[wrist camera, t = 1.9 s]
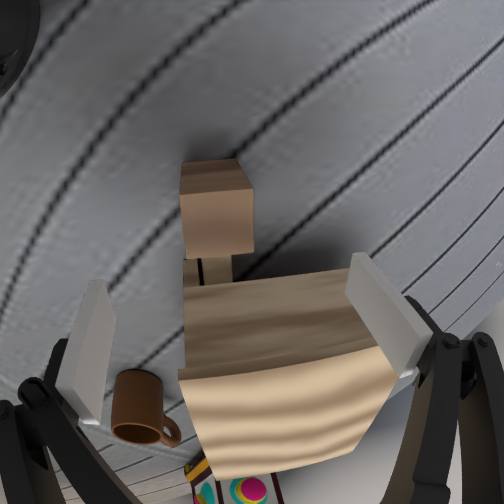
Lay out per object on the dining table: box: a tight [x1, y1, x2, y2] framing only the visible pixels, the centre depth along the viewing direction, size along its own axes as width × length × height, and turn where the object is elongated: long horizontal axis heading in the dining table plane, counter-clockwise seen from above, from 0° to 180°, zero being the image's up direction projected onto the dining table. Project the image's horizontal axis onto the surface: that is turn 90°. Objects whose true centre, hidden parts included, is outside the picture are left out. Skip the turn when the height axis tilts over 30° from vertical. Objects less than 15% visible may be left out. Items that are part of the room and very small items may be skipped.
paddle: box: [179, 159, 254, 286], centre depth 31 cm, size 27×5×9 cm, turn 0°
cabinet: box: [178, 259, 398, 481], centre depth 33 cm, size 25×20×16 cm
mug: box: [111, 370, 181, 447], centre depth 39 cm, size 12×8×9 cm, turn 38°
